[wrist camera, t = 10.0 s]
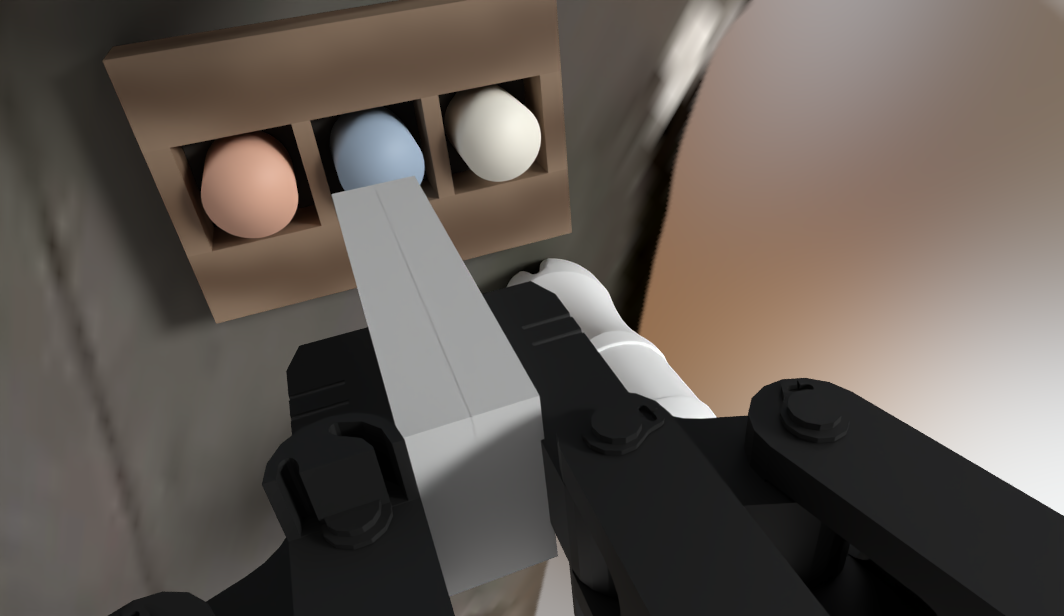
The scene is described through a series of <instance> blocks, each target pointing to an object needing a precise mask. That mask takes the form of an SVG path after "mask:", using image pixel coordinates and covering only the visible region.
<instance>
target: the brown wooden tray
mask: <svg viewBox="0 0 1064 616" xmlns="http://www.w3.org/2000/svg"><path fill="white" fill-rule="evenodd" d="M102 61H103V63H104V66H105V68H106V70H107V73H108V75H109V77H110V79H111V82H112V84H113V86H114V89H115V91H116V93H117V96H118V98H119V100H120V103H121V105H122V107H123V109H124V112H125V114H126V116H127V119H128V121H129V123H130V126H131V128H132V130H133V132H134V135H135V137H136V139H137V142H138V144H139V146H140V149H141V151H142V153H143V156H144V158H145V160H146V162H147V165H148V167H149V169H150V172H151V174H152V176H153V179H154V181H155V183H156V186H157V188H158V190H159V192H160V195H161V197H162V199H163V202H164V204H165V206H166V209H167V211H168V213H169V215H170V218H171V220H172V222H173V225H174V227H175V229H176V232H177V234H178V236H179V239H180V241H181V243H182V245H183V248H184V250H185V252H186V255H187V257H188V259H189V262H190V264H191V266H192V269H193V271H194V273H195V275H196V278H197V280H198V282H199V285H200V287H201V289H202V292H203V294H204V296H205V299H206V301H207V303H208V305H209V308H210V310H211V312H212V315H213V317H214V319H215V322H216V324H217V323H221V322H225V321H229V320H232V319H236V318H240V317H244V316H248V315H252V314H256V313H260V312H264V311H268V310H271V309H275V308H279V307H283V306H287V305H291V304H295V303H299V302H303V301H307V300H311V299H314V298H318V297H322V296H326V295H330V294H334V293H338V292H342V291H346V290H350V289H353V288H357V285H356V281H355V277H354V274H353V270H352V267H351V263H350V259H349V256H348V252H347V249H346V245H345V241H344V238H343V234H342V231H341V227H340V223H339V220H338V216H337V213H336V209H335V205H334V202H333V200H332V197H331V193H330V190H329V186H328V183H327V179H326V175H325V172H324V168H323V165H322V161H321V158H320V154H319V151H318V147H317V143H316V140H315V136H314V133H313V129H312V126H311V122H310V120H314V119H319V118H324V117H329V116H334V115H339V114H344V113H350V112H355V111H360V110H365V109H370V108H375V107H380V106H385V105H390V104H395V103H400V102H405V101H411V100H413V105H414V110H415V115H416V120H417V126H418V131H419V136H420V141H421V147H422V152H423V157H424V162H425V167H426V173H427V178H428V179H427V180H423V181H422V182H421V184H420V186H421V188H422V190H423V192H424V193H425V195H426V197H427V199H428V200H429V202H430V204H431V206H432V207H433V209H434V211H435V213H436V215H437V216H438V218H439V220H440V222H441V223H442V225H443V227H444V229H445V230H446V232H447V234H448V236H449V237H450V239H451V241H452V243H453V244H454V246H455V248H456V250H457V251H458V253H459V255H460V257H461V258H462V260H467V259H471V258H474V257H478V256H482V255H486V254H490V253H494V252H498V251H502V250H506V249H510V248H514V247H517V246H521V245H525V244H529V243H533V242H537V241H541V240H545V239H549V238H553V237H556V236H560V235H564V234H568V233H572V228H571V214H570V199H569V184H568V169H567V154H566V139H565V124H564V109H563V94H562V79H561V64H560V49H559V35H558V20H557V5H556V0H399V1H392V2H386V3H380V4H374V5H368V6H361V7H355V8H349V9H343V10H337V11H330V12H324V13H318V14H312V15H306V16H299V17H293V18H287V19H281V20H275V21H269V22H262V23H256V24H250V25H244V26H238V27H231V28H225V29H219V30H213V31H207V32H200V33H194V34H188V35H182V36H176V37H169V38H163V39H157V40H151V41H145V42H138V43H132V44H126V45H120V46H114V47H112V48H111V50H110V51H109V52H108V54H107V55H106V56H105V58H104V59H103V60H102ZM517 79H523V81H524V91H525V101H526V108H527V109H528V110H530V111H531V112H532V114H533V115H534V116H535V118H536V119H537V122H538V124H539V127H540V132H541V144H540V148H539V152H538V155H537V157H536V159H535V160H534V162H533V163H532V165H531V166H530V167H529V168H528V169H527V170H526V171H525V172H524V173H522V174H521V175H519V176H518V177H516V178H514V179H511V180H508V181H502V182H494V181H489V180H485V179H483V178H481V177H479V176H478V175H476V174H475V173H474V172H473V171H472V170H467V171H463V172H458V173H454V174H451V169H450V163H449V157H448V151H447V145H446V139H445V133H444V127H443V121H442V115H441V110H440V104H439V98H438V95H441V94H446V93H451V92H456V91H461V90H467V89H472V88H477V87H482V86H487V85H492V84H497V83H502V82H507V81H512V80H517ZM288 124H291V125H292V128H293V132H294V135H295V138H296V142H297V145H298V148H299V152H300V155H301V158H302V162H303V165H304V169H305V172H306V175H307V179H308V182H309V185H310V189H311V192H312V195H313V199H314V202H315V205H312V206H307V207H303V208H298V209H296V212H295V214H294V216H293V218H292V219H291V221H290V222H289V223H288V224H287V225H286V226H285V227H284V228H283V229H281V230H280V231H278V232H277V233H275V234H272V235H270V236H266V237H261V238H244V237H239V236H235V235H232V234H230V233H228V232H226V231H224V230H222V229H221V228H220V227H214V226H213V224H212V221H211V219H210V218H209V216H208V215H207V213H206V211H205V209H204V207H203V204H202V199H201V194H200V191H199V188H198V186H197V183H196V181H195V178H194V176H193V173H192V171H191V168H190V166H189V163H188V161H187V158H186V156H185V153H184V151H183V148H182V145H187V144H192V143H197V142H202V141H207V140H212V139H217V138H222V137H227V136H233V135H238V134H243V133H248V132H253V131H258V130H263V129H268V128H273V127H278V126H283V125H288Z"/></svg>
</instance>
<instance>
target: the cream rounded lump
mask: <svg viewBox="0 0 1064 616" xmlns="http://www.w3.org/2000/svg"><path fill="white" fill-rule="evenodd" d="M444 126H445V132H446V135H447V138H448V139H449V141H450V143H451V144H452V146H453V147H454V148H455V149H456V151H457V152H458V153H459V155H460V156H461V157H462V159H463V160H464V161H465V162H466V164H467V165H468V166H469V168H470V169H471V170H472V171H473V172H474V173H475V174H476V175H478V176H479V177H481V178H483V179H485V180H489V181H494V182H502V181H508V180H511V179H514V178H516V177H518V176H519V175H521V174H522V173H524V172H525V171H526V170H527V169H528V168H529V167H530V166H531V165H532V163H533V162H534V160H535V159H536V157H537V155H538V152H539V148H540V144H541V132H540V127H539V124H538V122H537V119H536V118H535V116H534V115H533V114H532V112H531V111H530V110H528V109H527V108H526V107H525V106H524V105H523V104H521V103H520V102H519V101H518V100H516V99H515V98H514V97H513V96H512V95H510V94H509V93H508V92H507V91H506V90H504V89H503V88H501V87H500V86H498V85H496V84H492V85H487V86H482V87H477V88H472V89H467V90H461V91H458V92H457V93H456V94H455V95H454V97H453V98H452V99H451V101H450V103H449V104H448V107H447V109H446V113H445V118H444Z"/></svg>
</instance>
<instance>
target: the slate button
mask: <svg viewBox="0 0 1064 616" xmlns="http://www.w3.org/2000/svg"><path fill="white" fill-rule="evenodd" d="M329 145H330V152H331V155H332V158H333V161H334V165H335V168H336V171H337V174H338V177H339V180H340V183H341V185H342V187H343V189H344V190H345V191H348V190H352V189H357V188H361V187H366V186H370V185H375V184H379V183H384V182H388V181H393V180H397V179H402V178H406V177H411V176H415V178H416V179H417V181H418V183H419V185H420V184H421V182H422V179H423V176H424V159H423V155H422V152H421V150H420V148H419V146H418V145H417V143H416V142H415V140H414V138H413V137H412V135H411V134H410V132H409V131H408V129H407V128H406V126H405V124H404V123H403V121H402V120H401V119H400V118H399V117H398V116H397V115H396V114H395V113H394V112H392V111H391V110H389V109H387V108H385V107H382V106H380V107H375V108H370V109H365V110H360V111H355V112H350V113H344V114H342V115H341V116H340V117H339V118H338V119H337V121H336V122H335V124H334V126H333V128H332V130H331V134H330V140H329Z"/></svg>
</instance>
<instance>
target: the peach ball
mask: <svg viewBox="0 0 1064 616" xmlns="http://www.w3.org/2000/svg"><path fill="white" fill-rule="evenodd" d="M201 199H202V204H203V207H204V209H205V211H206V213H207V215H208V216H209V218H210V219H211V220H212V221H213V222H214V223H215V224H216V225H217V226H218V227H220V228H221V229H222V230H224V231H226V232H228V233H230V234H232V235H235V236H239V237H244V238H261V237H266V236H270V235H272V234H275V233H277V232H278V231H280V230H281V229H283V228H284V227H285V226H286V225H287V224H288V223H289V222H290V221H291V219H292V218H293V216H294V214H295V212H296V209H297V205H298V191H297V186H296V180H295V174H294V168H293V163H292V160H291V157H290V155H289V153H288V151H287V150H286V148H285V147H284V146H283V145H282V144H281V142H279V141H278V140H277V139H276V138H274V137H273V136H271V135H269V134H267V133H265V132H262V131H259V130H258V131H253V132H248V133H243V134H238V135H233V136H227V137H222V138H217V139H216V140H215V141H214V142H213V143H212V145H211V146H210V147H209V149H208V151H207V154H206V157H205V164H204V172H203V179H202V187H201Z"/></svg>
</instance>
